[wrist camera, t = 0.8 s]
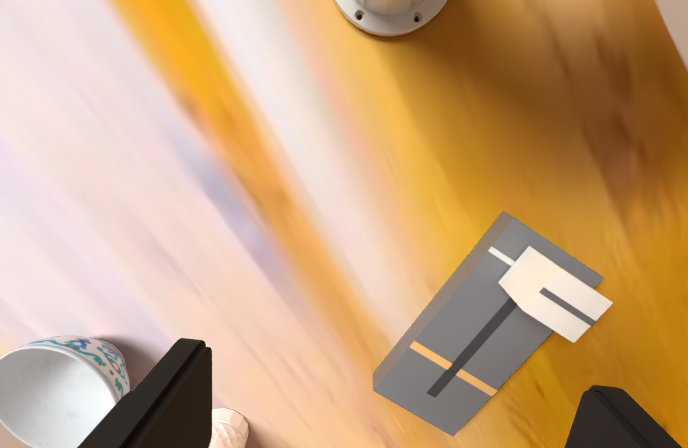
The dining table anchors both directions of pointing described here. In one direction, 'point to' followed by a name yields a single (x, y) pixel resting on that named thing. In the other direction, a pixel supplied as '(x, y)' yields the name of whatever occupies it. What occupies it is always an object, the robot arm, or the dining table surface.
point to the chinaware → (60, 389)
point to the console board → (470, 332)
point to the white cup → (228, 429)
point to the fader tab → (553, 295)
